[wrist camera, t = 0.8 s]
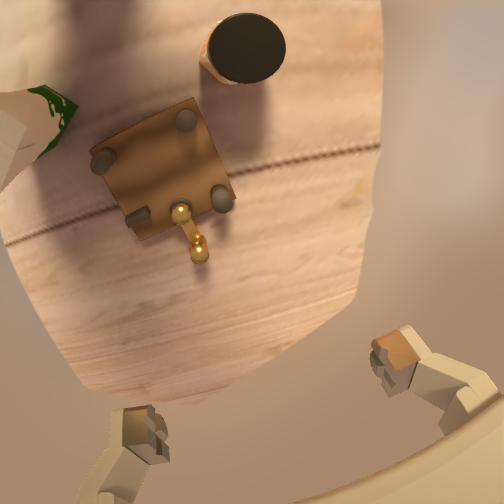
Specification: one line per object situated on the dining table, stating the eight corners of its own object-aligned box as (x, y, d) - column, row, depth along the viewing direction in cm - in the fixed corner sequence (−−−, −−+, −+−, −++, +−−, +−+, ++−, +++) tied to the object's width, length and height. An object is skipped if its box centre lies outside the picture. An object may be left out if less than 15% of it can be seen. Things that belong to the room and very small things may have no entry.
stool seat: (93, 146, 40) (80, 159, 34) (193, 97, 39) (195, 100, 34) (141, 233, 49) (137, 256, 43) (233, 192, 48) (242, 210, 43)
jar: (205, 88, 39) (213, 92, 29) (192, 35, 35) (197, 20, 25) (267, 75, 40) (296, 76, 30) (256, 23, 35) (282, 8, 25)
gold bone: (168, 206, 44) (167, 218, 41) (185, 198, 44) (186, 209, 41) (193, 252, 49) (194, 266, 46) (209, 245, 49) (212, 259, 46)
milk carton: (16, 128, 34) (-62, 170, 18) (44, 75, 32) (-35, 86, 15) (56, 155, 39) (-8, 210, 22) (87, 103, 36) (26, 127, 19)
